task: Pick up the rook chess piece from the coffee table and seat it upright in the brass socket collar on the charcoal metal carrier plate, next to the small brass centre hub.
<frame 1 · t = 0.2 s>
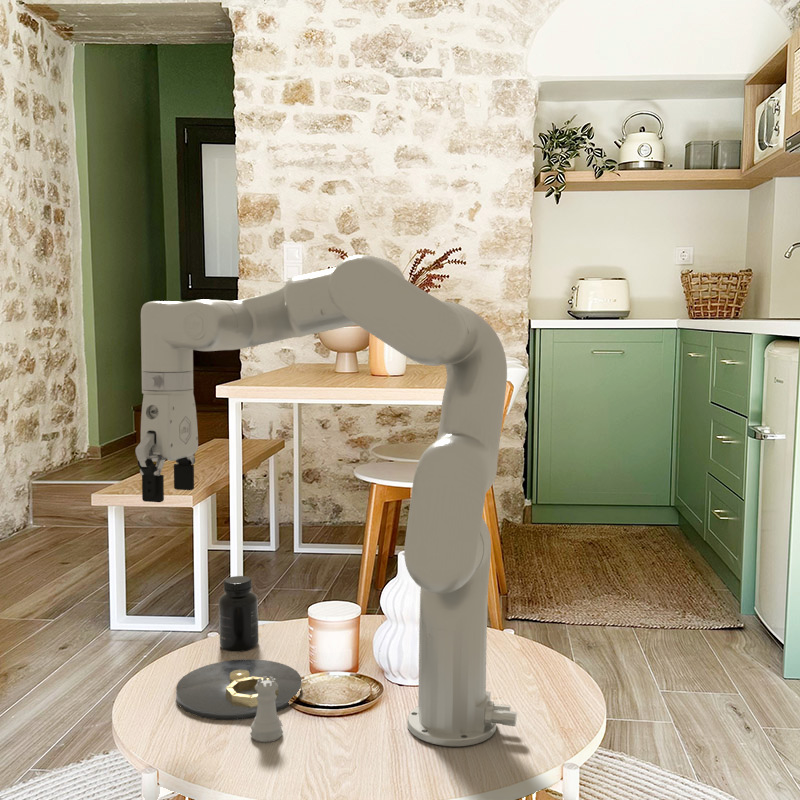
hand: (169, 495, 132), 31 cm above the table, tool pointing down, fingers open, 9 cm apart
carrier plate: (239, 692, 134), on the table
rook chess piece: (266, 737, 119), on the table
supplement bottle: (238, 646, 153), on the table
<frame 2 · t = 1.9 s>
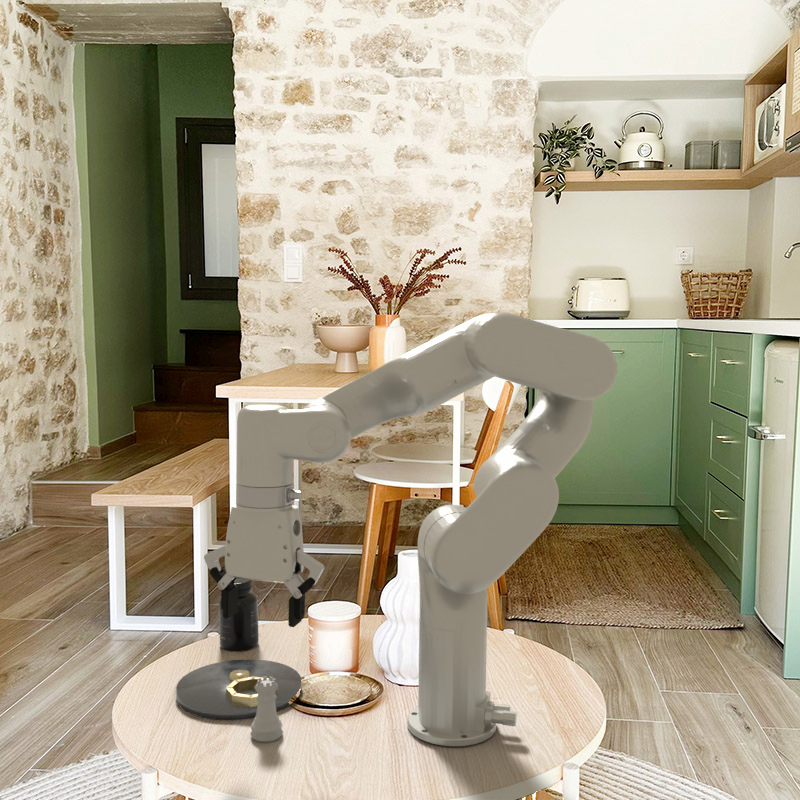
hand: (262, 619, 118), 17 cm above the table, tool pointing down, fingers open, 9 cm apart
nothing on the table moved.
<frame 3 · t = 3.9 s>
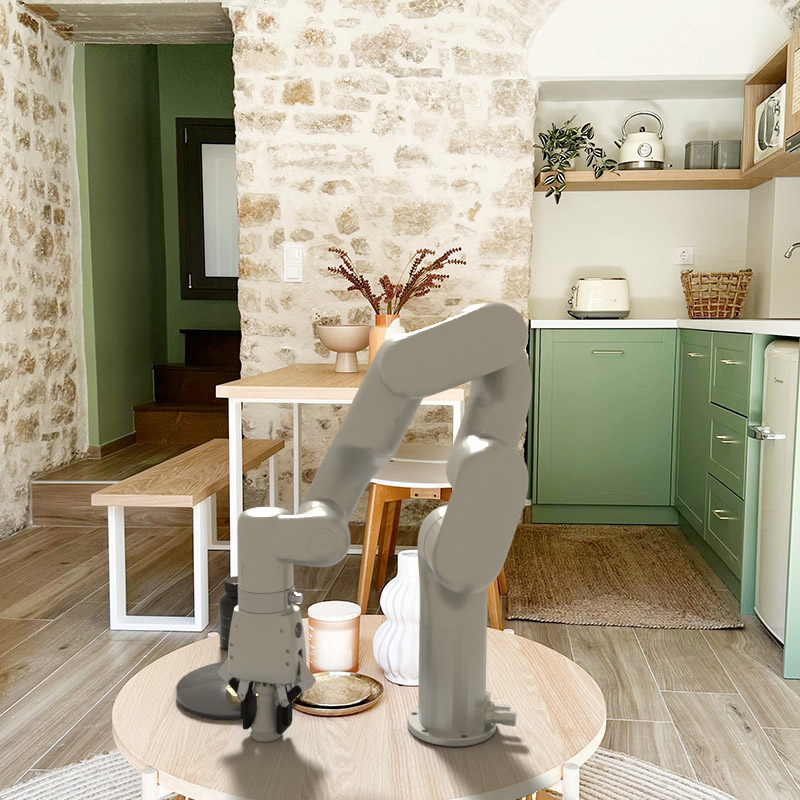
hand: (266, 726, 119), 1 cm above the table, tool pointing down, fingers closed on rook chess piece, 4 cm apart
rook chess piece: (266, 737, 119), on the table, touching gripper
everything else where it was.
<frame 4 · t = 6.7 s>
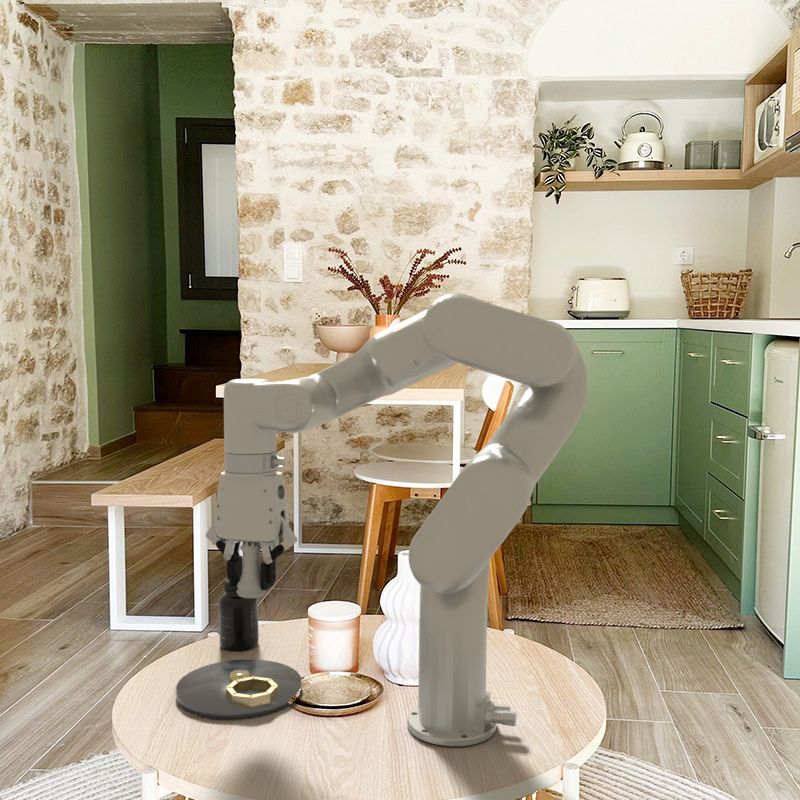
hand: (251, 585, 127), 18 cm above the table, tool pointing down, fingers closed on rook chess piece, 4 cm apart
rook chess piece: (251, 595, 127), point 17 cm above the table, touching gripper
everything else where it was.
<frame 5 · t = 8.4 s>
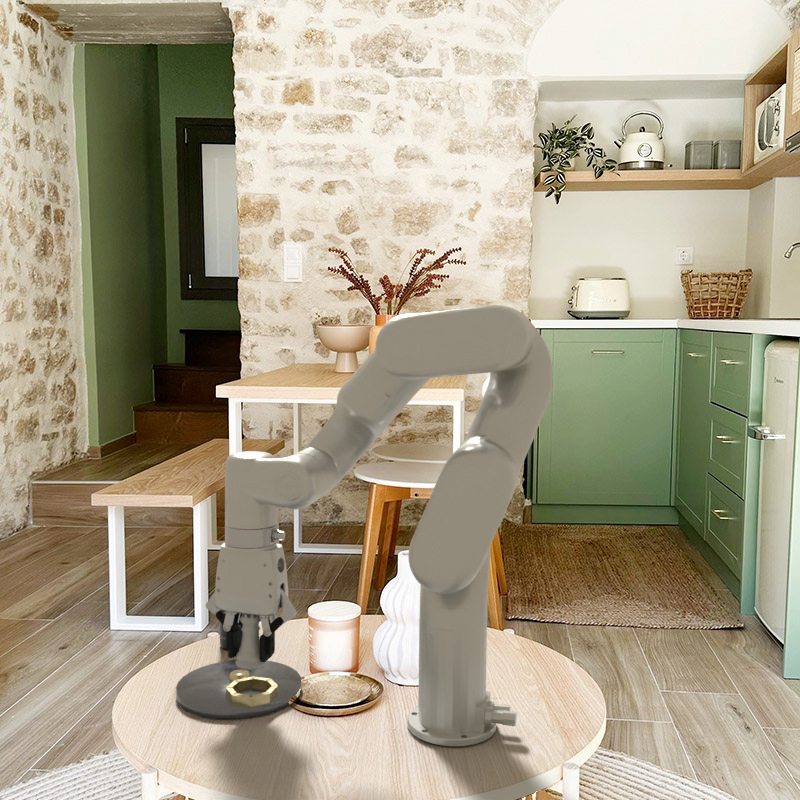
hand: (250, 655, 128), 8 cm above the table, tool pointing down, fingers closed on rook chess piece, 4 cm apart
rook chess piece: (250, 666, 128), point 6 cm above the table, touching gripper
everything else where it was.
when the fingers open (4 cm above the table, at t = 9.5 s): rook chess piece drops 1 cm, resting on carrier plate.
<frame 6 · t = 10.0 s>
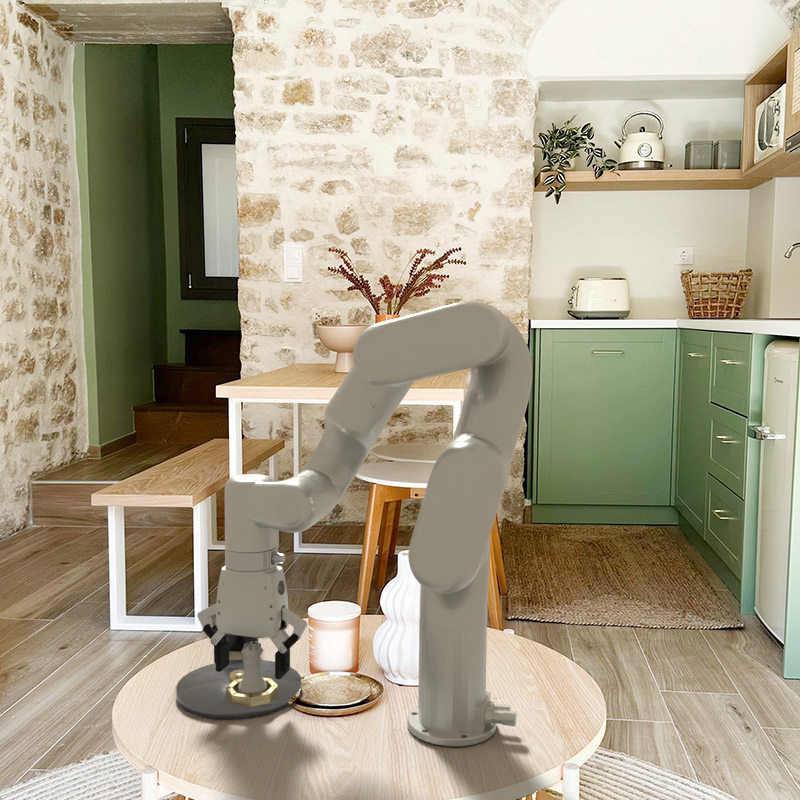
hand: (251, 671, 128), 5 cm above the table, tool pointing down, fingers open, 9 cm apart
rook chess piece: (252, 697, 129), point 1 cm above the table, touching carrier plate
everything else where it was.
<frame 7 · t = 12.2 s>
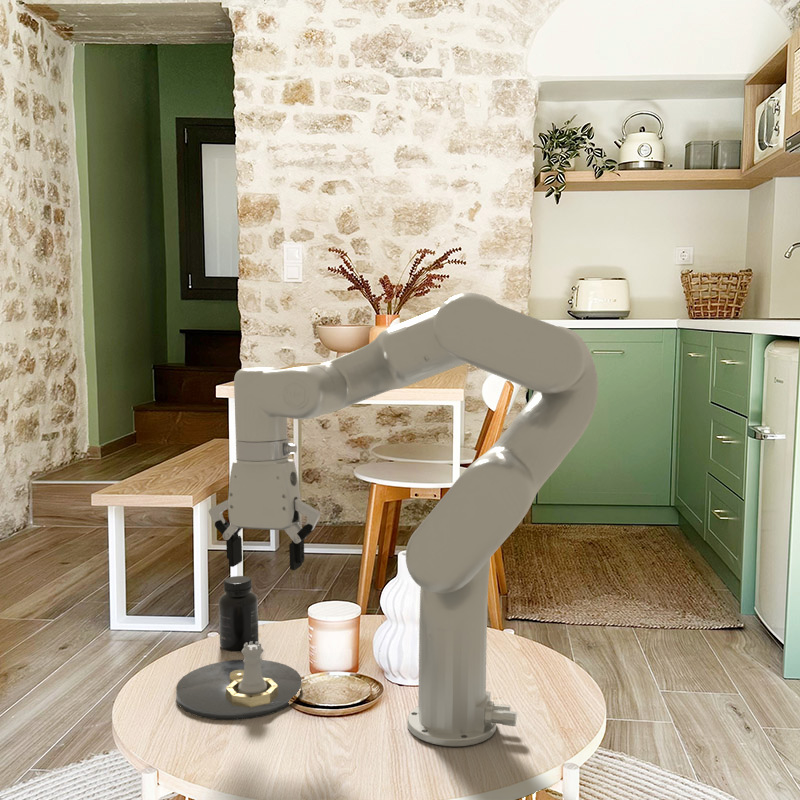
hand: (265, 566, 128), 21 cm above the table, tool pointing down, fingers open, 9 cm apart
nothing on the table moved.
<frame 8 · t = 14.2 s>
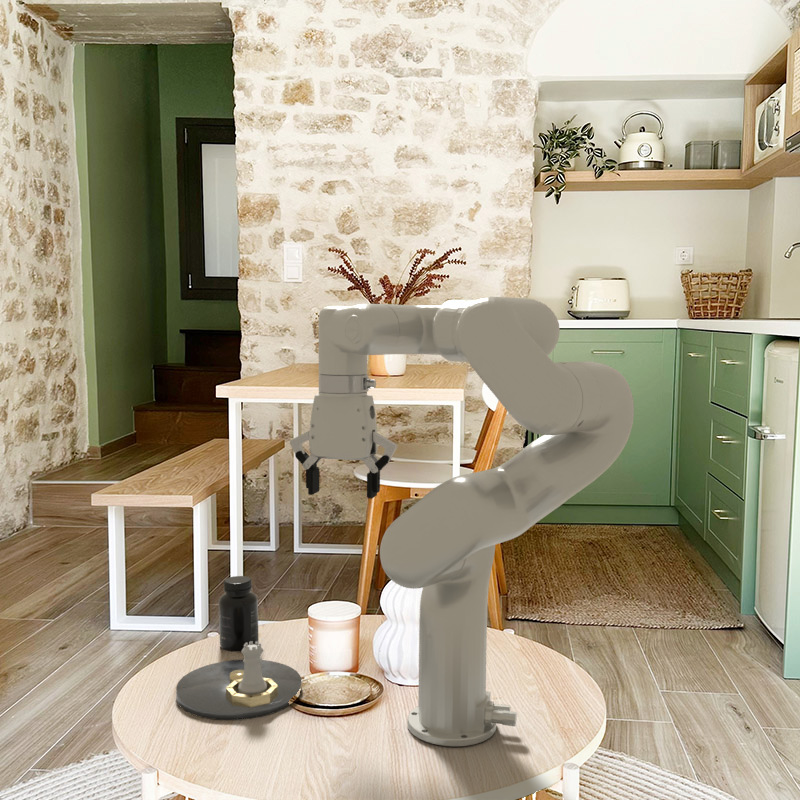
hand: (342, 495, 135), 30 cm above the table, tool pointing down, fingers open, 9 cm apart
nothing on the table moved.
at the end: rook chess piece 0.1 cm from the target spot on the carrier plate, point 1.3 cm above the carrier plate's base; rook chess piece tilted 0°; the gripper is holding nothing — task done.
